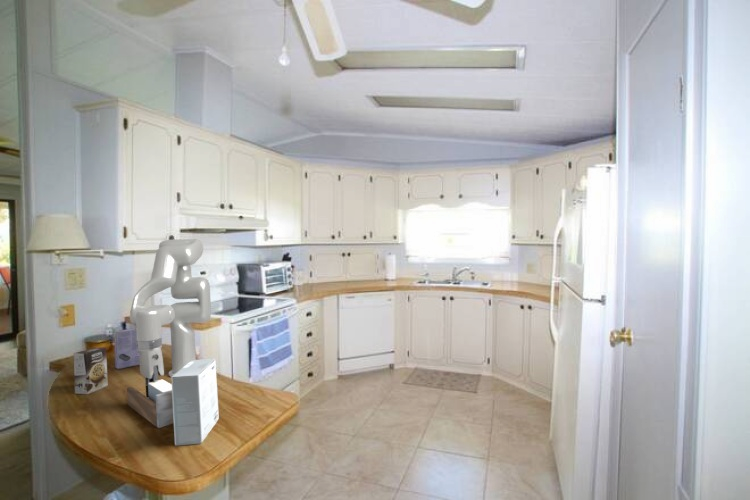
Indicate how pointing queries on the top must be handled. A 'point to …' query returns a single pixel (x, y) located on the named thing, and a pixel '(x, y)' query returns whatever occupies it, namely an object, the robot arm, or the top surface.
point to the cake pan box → (126, 349)
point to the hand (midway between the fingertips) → (151, 395)
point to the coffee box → (90, 370)
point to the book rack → (152, 407)
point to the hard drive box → (194, 401)
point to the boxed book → (158, 388)
